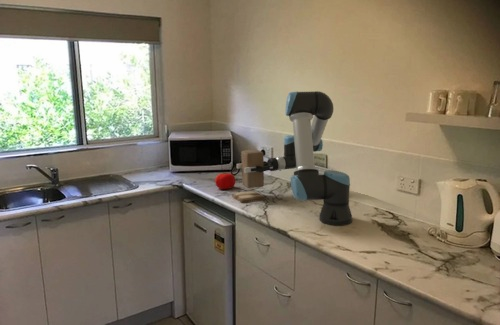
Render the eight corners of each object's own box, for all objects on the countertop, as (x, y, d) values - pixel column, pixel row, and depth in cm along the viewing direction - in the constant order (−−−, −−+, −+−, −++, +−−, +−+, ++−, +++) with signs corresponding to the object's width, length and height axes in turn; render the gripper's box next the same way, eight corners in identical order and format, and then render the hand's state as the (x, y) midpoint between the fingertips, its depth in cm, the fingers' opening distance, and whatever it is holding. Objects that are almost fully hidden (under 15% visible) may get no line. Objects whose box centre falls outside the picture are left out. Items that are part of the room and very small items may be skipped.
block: (247, 189, 213) (247, 153, 209) (241, 184, 222) (240, 150, 218) (264, 186, 217) (264, 151, 213) (257, 182, 226) (257, 149, 222)
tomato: (238, 189, 237) (237, 173, 235) (218, 191, 233) (217, 175, 231) (232, 185, 248) (231, 169, 246) (212, 187, 243) (212, 171, 241)
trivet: (264, 199, 216) (264, 196, 216) (241, 203, 211) (241, 199, 210) (253, 193, 229) (253, 189, 228) (232, 196, 223) (231, 193, 223)
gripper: (285, 174, 214) (249, 179, 205) (266, 166, 235) (232, 170, 225) (285, 161, 213) (249, 165, 204) (266, 154, 233) (232, 157, 224)
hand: (240, 168), depth 215 cm, fingers closed on block, 10 cm apart
